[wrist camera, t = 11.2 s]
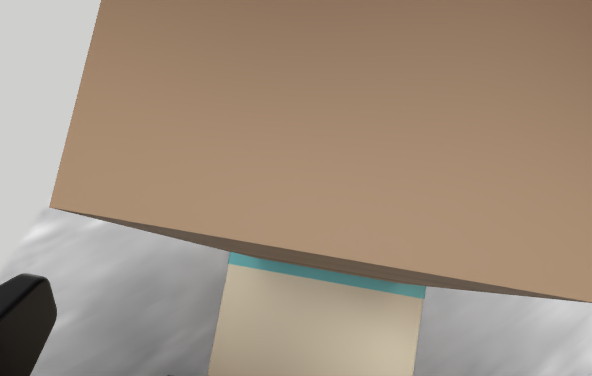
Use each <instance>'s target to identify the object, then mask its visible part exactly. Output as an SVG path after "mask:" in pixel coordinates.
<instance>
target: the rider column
mask: <svg viewBox="0 0 592 376" xmlns="http://www.w3.org/2000/svg"><path fill="white" fill-rule="evenodd" d="M49 207H50V208H55V209H59V210H63V211H67V212H71V213H75V214H79V215H83V216H87V217H91V218H95V219H99V220H103V221H107V222H112V223H116V224H120V225H124V226H128V227H132V228H136V229H140V230H144V231H148V232H152V233H156V234H160V235H164V236H169V237H173V238H177V239H181V240H185V241H189V242H193V243H197V244H201V245H205V246H209V247H213V248H217V249H221V250H226V251H230V252H234V253H238V254H242V255H246V256H250V257H254V258H259V259H265V260H270V261H276V262H281V263H287V264H293V265H298V266H304V267H310V268H315V269H321V270H326V271H332V272H338V273H343V274H349V275H355V276H360V277H366V278H371V279H377V280H383V281H388V282H394V283H400V284H410V285H420V286H430V287H440V288H450V289H460V290H470V291H480V292H489V293H499V294H509V295H519V296H529V297H539V298H549V299H559V300H569V301H579V302H589V303H592V0H101V3H100V8H99V12H98V16H97V19H96V23H95V27H94V31H93V35H92V40H91V43H90V47H89V51H88V55H87V59H86V63H85V67H84V71H83V75H82V79H81V83H80V87H79V91H78V95H77V99H76V103H75V107H74V111H73V115H72V119H71V123H70V127H69V131H68V135H67V139H66V143H65V147H64V151H63V154H62V158H61V162H60V166H59V170H58V174H57V178H56V182H55V186H54V190H53V194H52V198H51V202H50V206H49Z"/></svg>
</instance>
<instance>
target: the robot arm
mask: <svg viewBox="0 0 592 376" xmlns="http://www.w3.org/2000/svg"><path fill="white" fill-rule="evenodd" d="M56 317H57V308H56V304H55V300H54V297H53V293H52V289H51V286H50V282H49V280H48V279H47V278H45V277H43V276H37V275H32V274H20V275H18V276H16V277H14V278H12V279H10V280H9V281H7V282H5V283H3V284H1V285H0V376H30V374H31V372H32V370H33V368H34V366H35V364H36V362H37V360H38V358H39V355H40V353H41V351H42V349H43V347H44V345H45V343H46V341H47V339H48V336H49V334H50V332H51V330H52V328H53V326H54V324H55V321H56Z"/></svg>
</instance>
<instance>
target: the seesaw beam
mask: <svg viewBox="0 0 592 376" xmlns="http://www.w3.org/2000/svg"><path fill="white" fill-rule="evenodd" d="M228 264H229V265H228V270H227V276H226V281H225V286H224V291H223V296H222V301H221V306H220V311H219V317H218V322H217V327H216V332H215V337H214V342H213V347H212V352H211V358H210V363H209V368H208V373H207V376H413V370H414V363H415V355H416V348H417V341H418V334H419V326H420V319H421V312H422V304H423V299H424V297H425V289H426V286H420V285H410V284H400V283H394V282H388V281H383V280H377V279H371V278H366V277H360V276H355V275H349V274H343V273H338V272H332V271H326V270H321V269H315V268H310V267H304V266H298V265H293V264H287V263H281V262H276V261H270V260H265V259H259V258H254V257H250V256H246V255H242V254H238V253H234V252H230V255H229V260H228Z"/></svg>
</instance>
